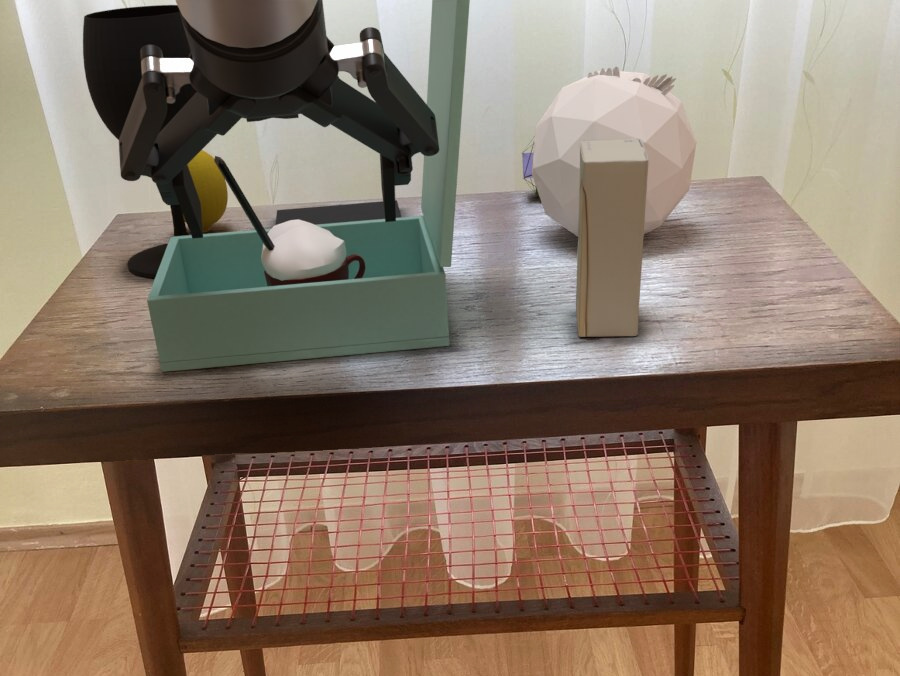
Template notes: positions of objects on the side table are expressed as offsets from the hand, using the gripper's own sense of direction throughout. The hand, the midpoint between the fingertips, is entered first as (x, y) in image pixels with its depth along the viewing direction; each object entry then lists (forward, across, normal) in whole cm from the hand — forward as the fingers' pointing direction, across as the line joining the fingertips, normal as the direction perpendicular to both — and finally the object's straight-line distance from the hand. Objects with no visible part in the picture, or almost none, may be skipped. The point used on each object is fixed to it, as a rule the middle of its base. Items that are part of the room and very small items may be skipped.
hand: (293, 212), depth 78 cm
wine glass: (+21, +11, -8) cm, 25 cm away
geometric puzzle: (+29, -25, -16) cm, 41 cm away
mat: (+25, -3, -13) cm, 28 cm away
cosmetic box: (+4, -22, +9) cm, 24 cm away
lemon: (+27, +10, -15) cm, 33 cm away
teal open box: (+8, 0, +5) cm, 9 cm away
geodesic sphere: (+18, -27, -6) cm, 33 cm away
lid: (-4, -11, -7) cm, 14 cm away
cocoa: (+7, 0, +4) cm, 8 cm away
